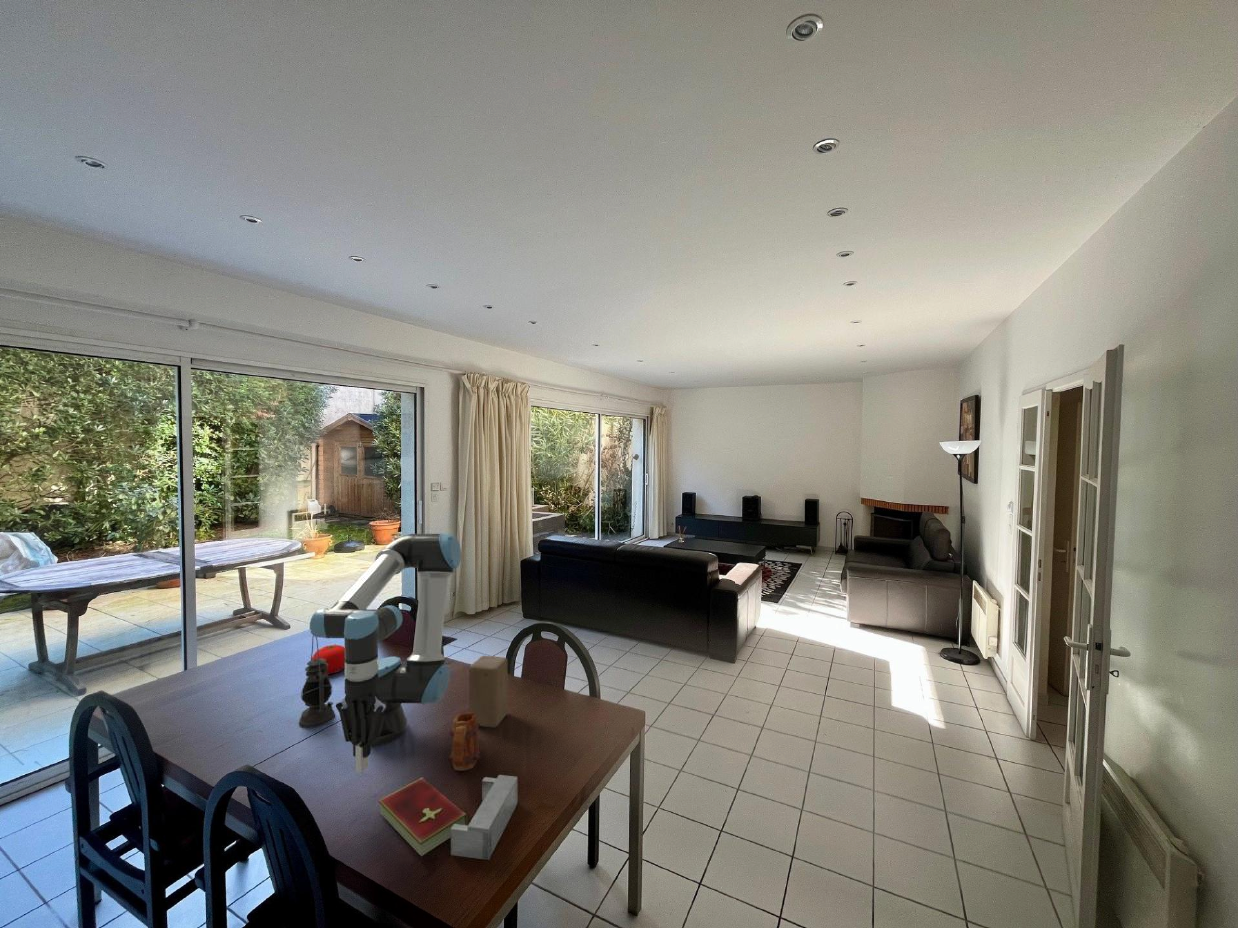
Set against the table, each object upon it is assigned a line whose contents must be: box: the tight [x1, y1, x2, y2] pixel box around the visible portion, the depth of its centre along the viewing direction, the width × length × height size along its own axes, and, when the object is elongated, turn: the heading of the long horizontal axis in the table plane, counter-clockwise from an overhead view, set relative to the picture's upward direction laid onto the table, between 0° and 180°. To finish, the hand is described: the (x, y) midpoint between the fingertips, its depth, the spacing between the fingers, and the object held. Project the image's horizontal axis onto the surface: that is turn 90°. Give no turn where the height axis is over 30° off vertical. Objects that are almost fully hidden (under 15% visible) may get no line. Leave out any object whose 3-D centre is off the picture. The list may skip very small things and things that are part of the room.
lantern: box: [298, 635, 336, 729], centre depth 168 cm, size 12×11×30 cm
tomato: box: [312, 643, 345, 675], centre depth 205 cm, size 14×13×10 cm
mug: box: [448, 711, 482, 771], centre depth 141 cm, size 15×8×15 cm, turn 5°
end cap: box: [450, 774, 519, 861], centre depth 120 cm, size 9×18×7 cm, turn 171°
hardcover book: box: [378, 777, 469, 857], centre depth 122 cm, size 12×21×4 cm, turn 50°
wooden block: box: [468, 655, 509, 728], centre depth 168 cm, size 10×10×20 cm
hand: (361, 768), depth 124 cm, fingers closed
